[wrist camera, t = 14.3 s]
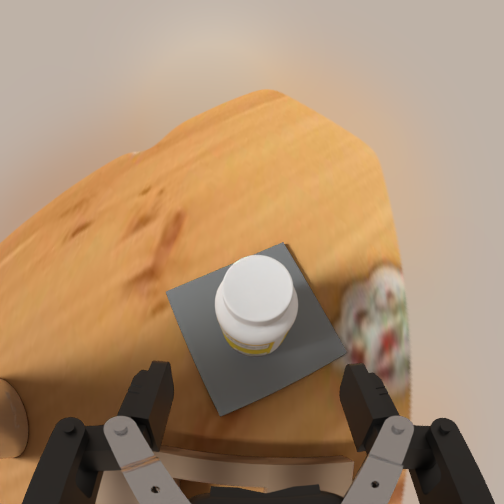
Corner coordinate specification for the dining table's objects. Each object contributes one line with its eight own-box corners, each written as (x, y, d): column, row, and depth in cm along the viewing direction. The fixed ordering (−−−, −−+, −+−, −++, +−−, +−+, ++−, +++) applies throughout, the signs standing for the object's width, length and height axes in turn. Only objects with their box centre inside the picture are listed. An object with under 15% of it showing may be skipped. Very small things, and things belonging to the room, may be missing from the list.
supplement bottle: (263, 286, 27) (272, 228, 18) (297, 335, 25) (327, 300, 16) (210, 316, 26) (192, 272, 17) (244, 370, 24) (243, 354, 15)
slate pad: (220, 416, 22) (220, 416, 22) (166, 293, 27) (165, 291, 27) (345, 353, 25) (347, 352, 24) (282, 244, 30) (283, 242, 29)
